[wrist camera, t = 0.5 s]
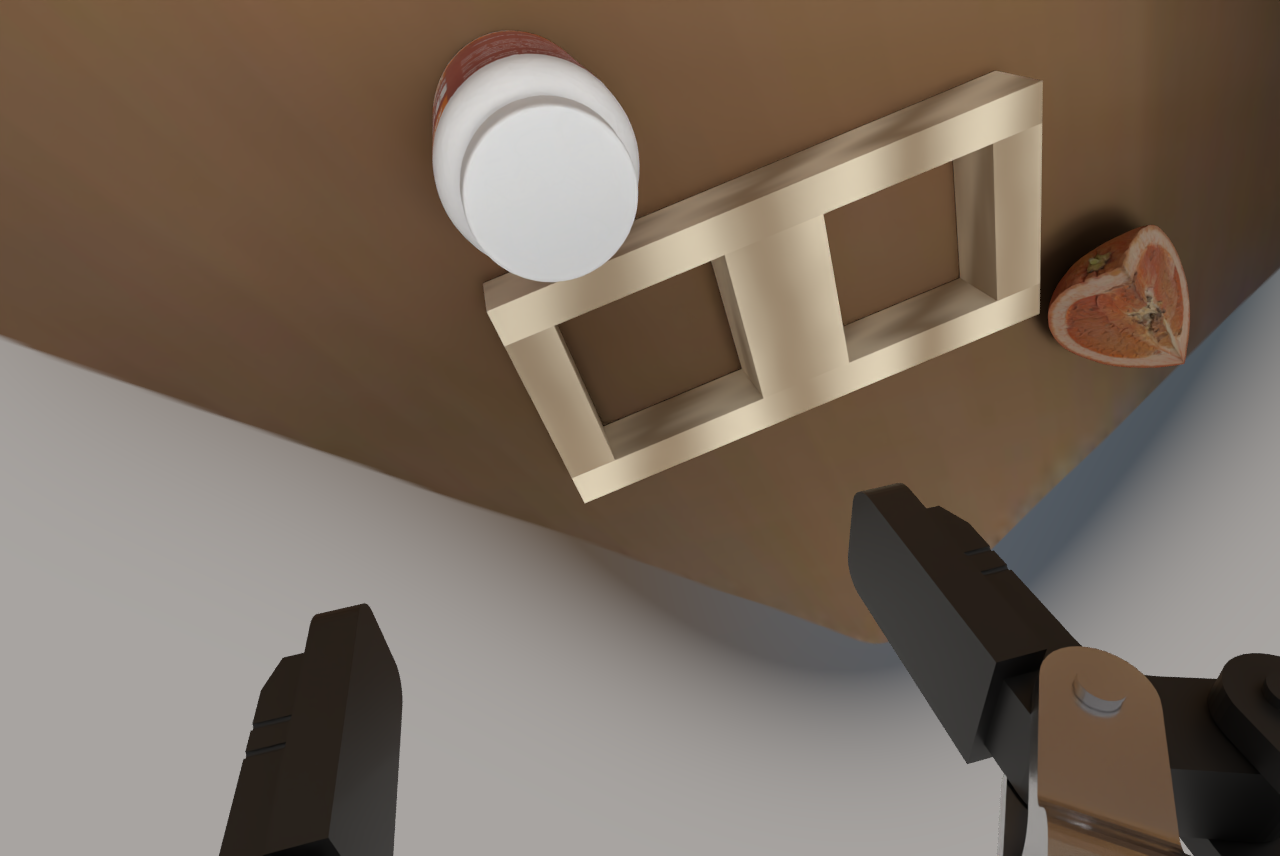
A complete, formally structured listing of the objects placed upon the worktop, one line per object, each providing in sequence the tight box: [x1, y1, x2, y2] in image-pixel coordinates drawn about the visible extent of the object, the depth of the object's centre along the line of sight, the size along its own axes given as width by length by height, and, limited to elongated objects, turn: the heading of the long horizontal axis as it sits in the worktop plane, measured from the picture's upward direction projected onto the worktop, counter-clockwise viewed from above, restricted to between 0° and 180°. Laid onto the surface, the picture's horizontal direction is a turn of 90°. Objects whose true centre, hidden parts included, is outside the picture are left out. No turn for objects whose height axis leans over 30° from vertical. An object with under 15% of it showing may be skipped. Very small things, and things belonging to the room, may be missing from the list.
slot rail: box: [483, 71, 1043, 503], centre depth 33 cm, size 24×11×3 cm, turn 109°
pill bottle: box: [432, 30, 639, 282], centre depth 23 cm, size 6×6×11 cm
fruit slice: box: [1048, 225, 1190, 367], centre depth 37 cm, size 8×7×5 cm
